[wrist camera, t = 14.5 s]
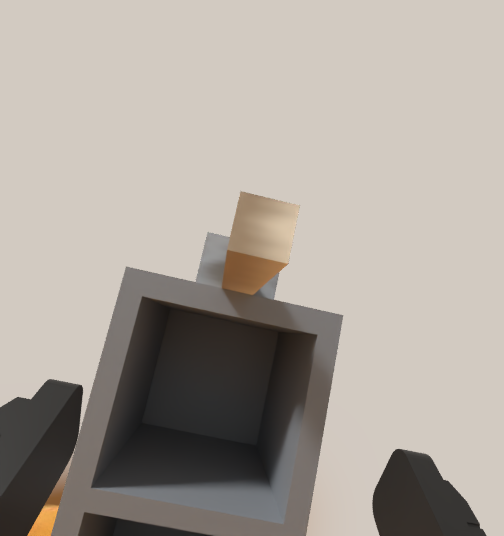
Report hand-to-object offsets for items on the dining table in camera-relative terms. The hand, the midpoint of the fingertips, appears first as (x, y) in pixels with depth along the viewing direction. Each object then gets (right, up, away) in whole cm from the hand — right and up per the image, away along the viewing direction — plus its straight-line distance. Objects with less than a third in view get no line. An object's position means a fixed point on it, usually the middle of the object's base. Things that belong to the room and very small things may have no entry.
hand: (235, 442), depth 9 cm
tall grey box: (-9, -30, +25) cm, 40 cm away
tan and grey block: (-1, +3, +20) cm, 20 cm away
